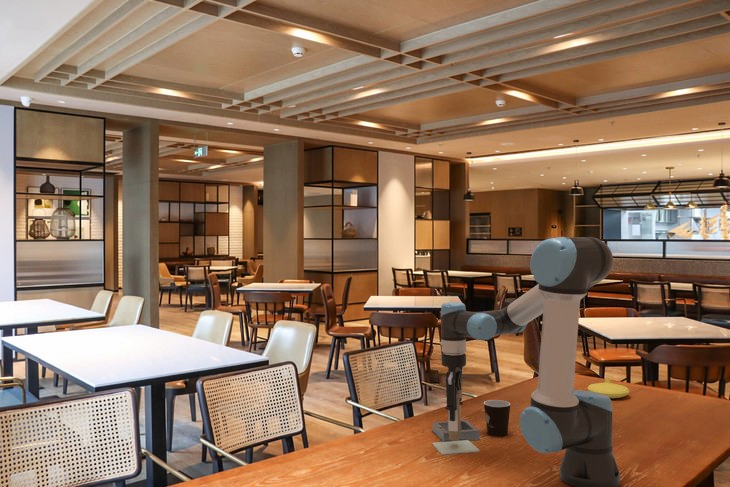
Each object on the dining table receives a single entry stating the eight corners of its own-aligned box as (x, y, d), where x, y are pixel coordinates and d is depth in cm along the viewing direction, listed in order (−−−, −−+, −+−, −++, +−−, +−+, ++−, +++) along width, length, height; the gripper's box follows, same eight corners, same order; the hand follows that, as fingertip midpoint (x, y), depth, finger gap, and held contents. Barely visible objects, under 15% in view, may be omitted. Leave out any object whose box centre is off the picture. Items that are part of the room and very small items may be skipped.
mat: (479, 451, 186) (479, 450, 186) (441, 455, 184) (441, 453, 184) (468, 441, 196) (468, 440, 196) (432, 444, 194) (432, 442, 194)
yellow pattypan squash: (632, 394, 251) (632, 377, 251) (625, 403, 238) (625, 385, 238) (592, 390, 259) (591, 373, 259) (583, 398, 246) (583, 380, 246)
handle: (447, 443, 188) (447, 394, 188) (445, 436, 194) (445, 389, 194) (463, 443, 188) (463, 394, 187) (461, 436, 194) (460, 389, 194)
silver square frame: (479, 439, 198) (479, 429, 198) (443, 442, 195) (443, 432, 195) (466, 428, 209) (466, 418, 209) (432, 431, 207) (432, 421, 207)
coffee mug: (511, 438, 198) (510, 407, 198) (484, 437, 200) (483, 406, 200) (510, 427, 210) (509, 398, 210) (484, 426, 212) (484, 397, 211)
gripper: (447, 347, 200) (448, 419, 200) (435, 357, 184) (436, 435, 184) (470, 348, 197) (471, 421, 198) (460, 358, 181) (461, 438, 181)
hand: (454, 428), depth 191 cm, fingers closed on handle, 4 cm apart
